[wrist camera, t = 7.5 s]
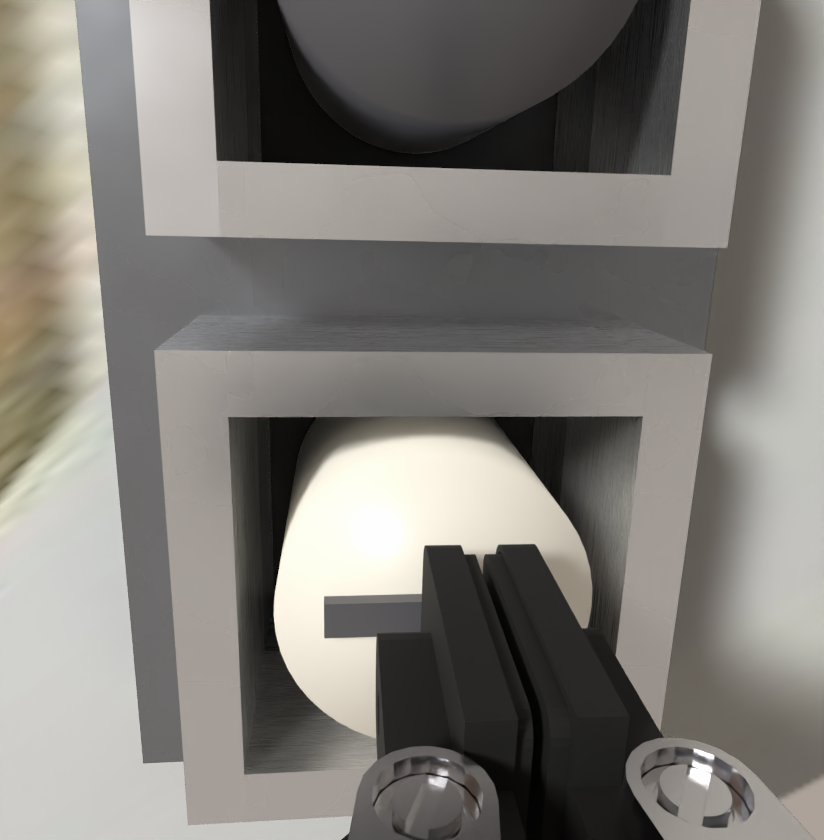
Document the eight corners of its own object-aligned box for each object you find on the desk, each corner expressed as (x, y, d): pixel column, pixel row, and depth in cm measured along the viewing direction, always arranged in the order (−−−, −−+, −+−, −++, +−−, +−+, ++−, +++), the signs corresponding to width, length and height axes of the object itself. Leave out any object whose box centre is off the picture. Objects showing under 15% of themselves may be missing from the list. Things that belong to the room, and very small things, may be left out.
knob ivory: (517, 374, 17) (612, 462, 11) (503, 575, 19) (582, 747, 13) (292, 373, 17) (268, 464, 11) (297, 579, 18) (276, 762, 12)
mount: (727, -304, 14) (1005, -671, 8) (614, 676, 20) (729, 869, 14) (87, -368, 13) (-123, -850, 7) (168, 693, 19) (90, 912, 13)
